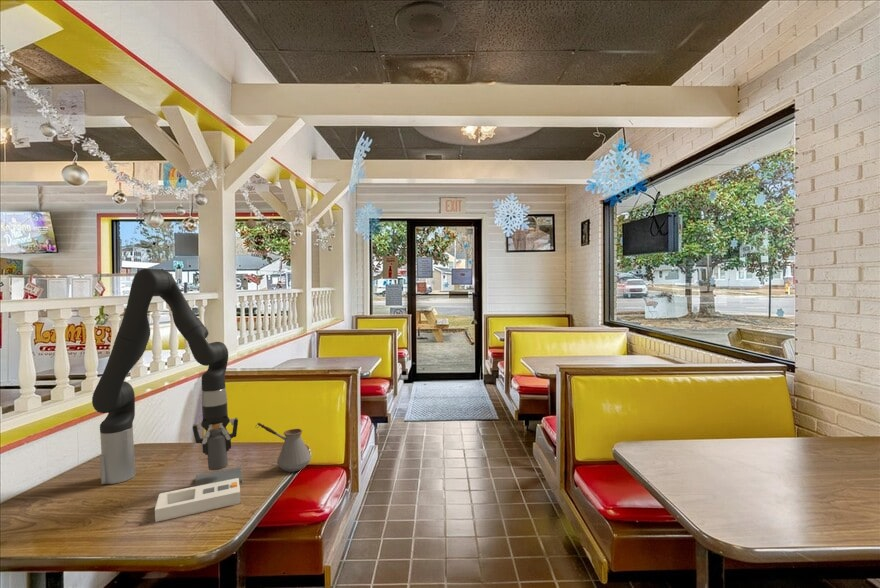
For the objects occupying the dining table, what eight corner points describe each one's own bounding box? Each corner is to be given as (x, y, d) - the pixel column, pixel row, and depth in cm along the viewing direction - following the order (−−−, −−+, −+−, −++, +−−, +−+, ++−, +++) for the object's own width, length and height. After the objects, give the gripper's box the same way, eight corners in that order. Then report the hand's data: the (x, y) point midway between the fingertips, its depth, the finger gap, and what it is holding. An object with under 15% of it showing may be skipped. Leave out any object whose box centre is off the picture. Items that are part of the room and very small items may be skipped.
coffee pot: (317, 462, 168) (315, 421, 167) (298, 475, 157) (296, 432, 157) (269, 456, 175) (267, 417, 174) (247, 469, 164) (245, 427, 163)
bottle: (220, 471, 151) (217, 425, 151) (204, 470, 152) (201, 425, 152) (231, 463, 157) (229, 420, 156) (216, 462, 158) (213, 419, 157)
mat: (194, 493, 146) (194, 489, 146) (196, 478, 157) (195, 475, 157) (242, 483, 152) (241, 480, 152) (240, 470, 163) (240, 466, 163)
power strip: (155, 522, 129) (154, 507, 129) (160, 504, 139) (159, 491, 139) (240, 503, 139) (240, 489, 139) (239, 488, 149) (238, 476, 149)
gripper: (237, 396, 160) (240, 444, 161) (190, 403, 154) (193, 452, 155) (238, 401, 153) (241, 451, 154) (189, 408, 147) (192, 460, 148)
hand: (217, 452), depth 154 cm, fingers closed on bottle, 6 cm apart
